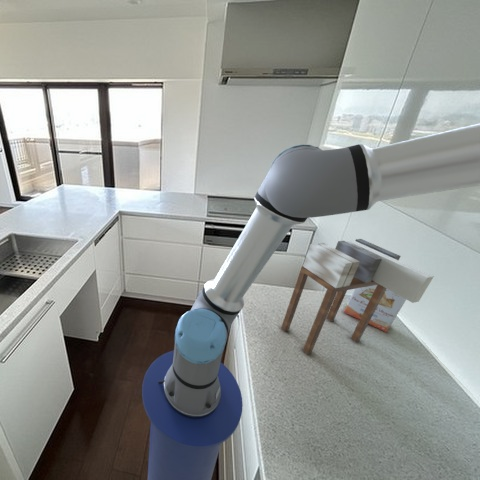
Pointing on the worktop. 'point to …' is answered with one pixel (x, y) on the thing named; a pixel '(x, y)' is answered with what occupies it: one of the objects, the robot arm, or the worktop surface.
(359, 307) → the cracker box
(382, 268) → the white book
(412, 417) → the worktop surface
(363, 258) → the wooden side table
